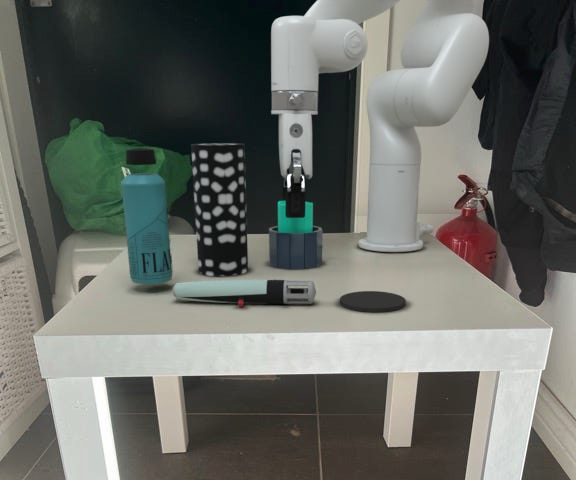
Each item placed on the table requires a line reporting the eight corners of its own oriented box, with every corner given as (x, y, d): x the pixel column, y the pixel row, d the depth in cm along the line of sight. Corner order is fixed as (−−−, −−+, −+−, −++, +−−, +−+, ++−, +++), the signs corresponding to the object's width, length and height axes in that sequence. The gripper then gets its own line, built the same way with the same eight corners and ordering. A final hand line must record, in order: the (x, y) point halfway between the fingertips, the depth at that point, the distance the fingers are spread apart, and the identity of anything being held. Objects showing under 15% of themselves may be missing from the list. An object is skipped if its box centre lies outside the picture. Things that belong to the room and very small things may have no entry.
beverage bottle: (140, 296, 93) (126, 149, 85) (124, 287, 98) (109, 148, 90) (181, 290, 96) (171, 148, 88) (163, 281, 101) (152, 146, 94)
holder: (302, 256, 119) (302, 223, 117) (332, 264, 112) (332, 229, 110) (259, 262, 115) (258, 228, 112) (288, 271, 108) (287, 235, 105)
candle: (277, 260, 116) (276, 191, 111) (310, 259, 116) (311, 190, 112) (279, 267, 111) (278, 195, 106) (314, 266, 111) (314, 194, 106)
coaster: (376, 291, 95) (376, 287, 94) (419, 305, 88) (419, 301, 87) (326, 301, 90) (326, 296, 90) (368, 316, 83) (368, 311, 83)
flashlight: (166, 296, 87) (315, 297, 85) (172, 274, 89) (316, 275, 88) (171, 313, 89) (315, 315, 88) (176, 291, 92) (316, 292, 90)
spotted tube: (188, 273, 107) (180, 144, 99) (216, 263, 114) (210, 143, 106) (231, 278, 103) (225, 145, 95) (257, 268, 110) (254, 143, 102)
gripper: (323, 103, 96) (320, 220, 102) (312, 106, 112) (310, 207, 118) (273, 102, 95) (273, 220, 102) (269, 106, 111) (269, 207, 118)
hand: (293, 213), depth 110 cm, fingers open, 9 cm apart
